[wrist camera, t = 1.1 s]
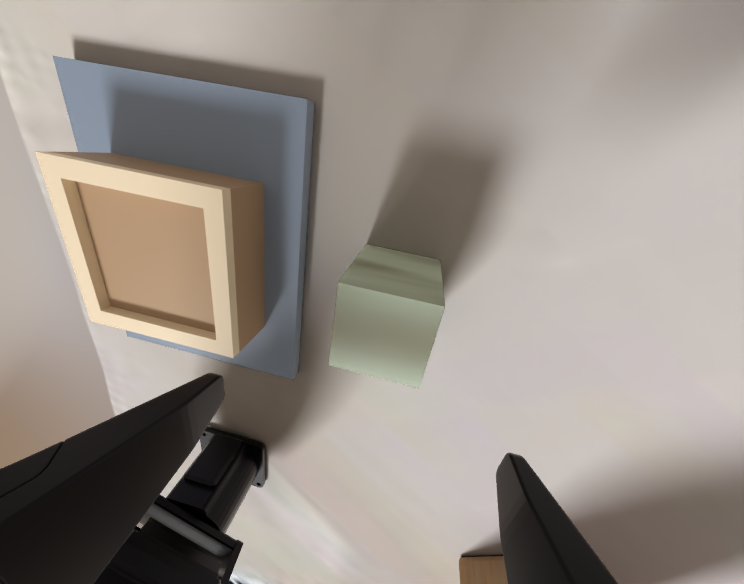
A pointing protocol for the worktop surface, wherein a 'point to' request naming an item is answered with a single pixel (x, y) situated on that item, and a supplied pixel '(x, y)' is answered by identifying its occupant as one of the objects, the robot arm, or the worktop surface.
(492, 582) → the wooden block
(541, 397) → the worktop surface
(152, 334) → the build base
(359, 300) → the sage block
